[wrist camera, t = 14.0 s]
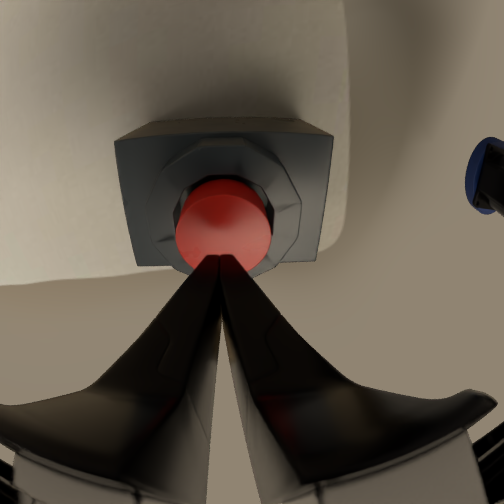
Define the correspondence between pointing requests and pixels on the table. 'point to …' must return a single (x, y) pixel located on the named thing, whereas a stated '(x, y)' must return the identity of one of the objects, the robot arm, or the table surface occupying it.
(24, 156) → the table surface
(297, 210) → the control block
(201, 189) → the button
